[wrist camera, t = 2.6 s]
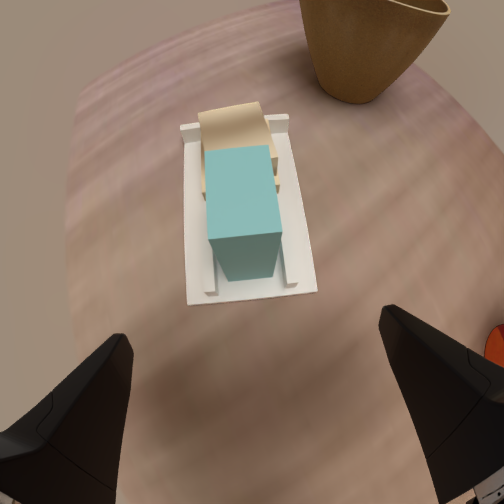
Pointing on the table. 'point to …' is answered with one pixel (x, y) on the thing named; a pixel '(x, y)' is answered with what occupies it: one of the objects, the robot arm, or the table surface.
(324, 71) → the plant pot
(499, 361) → the paper cup
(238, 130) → the offcut upper
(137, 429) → the table surface
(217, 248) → the teal rectangular block
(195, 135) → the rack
